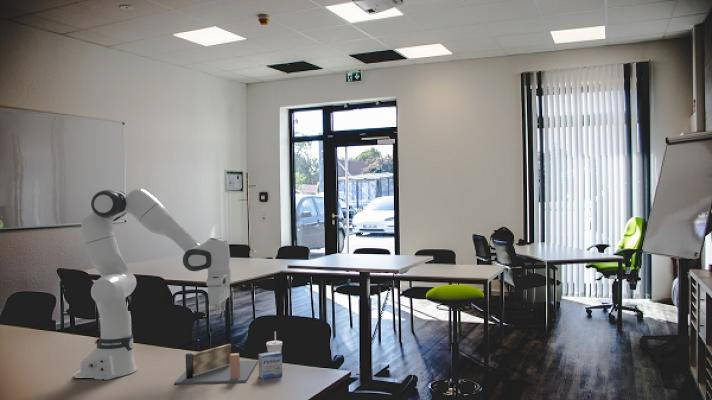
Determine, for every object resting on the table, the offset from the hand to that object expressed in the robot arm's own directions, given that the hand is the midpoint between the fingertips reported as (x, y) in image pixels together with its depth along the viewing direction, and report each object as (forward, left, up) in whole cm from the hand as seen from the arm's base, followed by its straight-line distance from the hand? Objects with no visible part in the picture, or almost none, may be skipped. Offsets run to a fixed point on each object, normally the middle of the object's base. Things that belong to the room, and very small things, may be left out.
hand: (220, 312), depth 219 cm
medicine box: (+22, -16, -22) cm, 35 cm away
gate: (-2, -9, -20) cm, 22 cm away
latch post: (+9, -19, -21) cm, 30 cm away
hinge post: (-8, -17, -21) cm, 28 cm away
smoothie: (+22, -5, -21) cm, 31 cm away
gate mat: (+1, -10, -21) cm, 23 cm away
